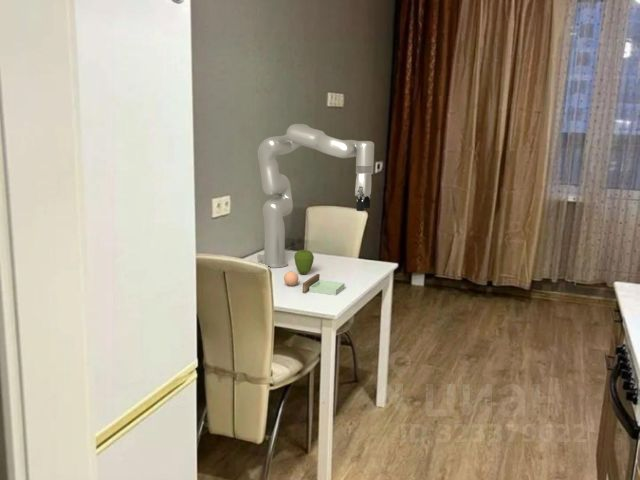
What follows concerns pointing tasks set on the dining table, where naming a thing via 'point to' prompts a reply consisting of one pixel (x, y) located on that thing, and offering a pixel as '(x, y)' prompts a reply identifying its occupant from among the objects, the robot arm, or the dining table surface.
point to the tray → (326, 287)
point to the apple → (303, 261)
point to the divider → (310, 283)
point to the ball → (291, 278)
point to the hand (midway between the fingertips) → (363, 209)
